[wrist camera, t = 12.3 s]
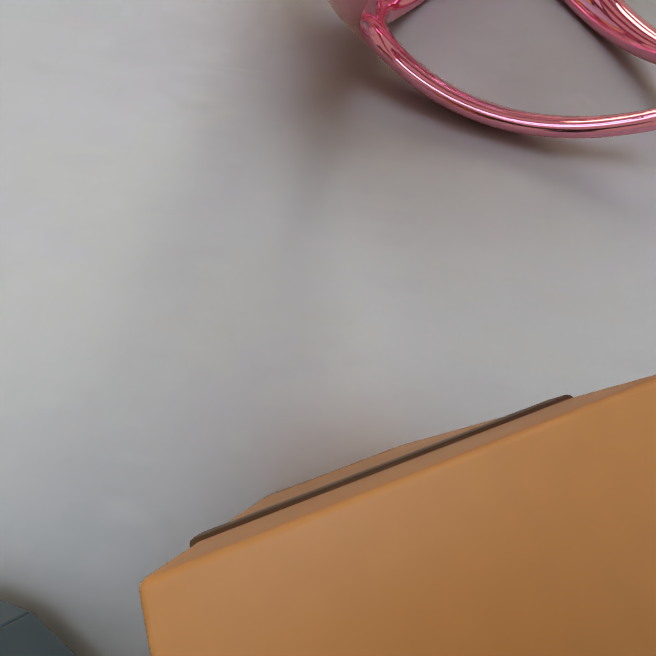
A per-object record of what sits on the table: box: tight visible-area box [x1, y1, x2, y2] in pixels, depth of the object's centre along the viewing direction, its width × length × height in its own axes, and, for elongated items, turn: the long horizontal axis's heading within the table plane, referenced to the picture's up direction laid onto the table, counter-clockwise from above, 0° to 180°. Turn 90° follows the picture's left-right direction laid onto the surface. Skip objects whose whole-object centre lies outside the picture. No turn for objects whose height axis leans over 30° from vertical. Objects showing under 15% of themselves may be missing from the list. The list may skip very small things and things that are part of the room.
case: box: [139, 375, 656, 656], centre depth 8 cm, size 4×6×12 cm
